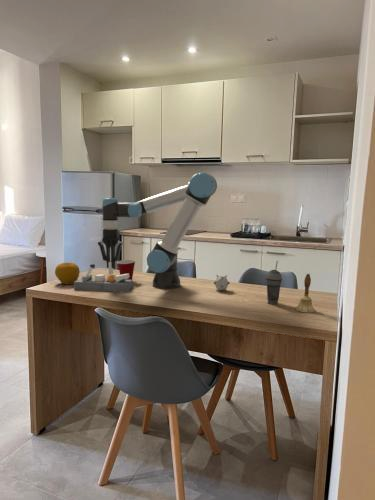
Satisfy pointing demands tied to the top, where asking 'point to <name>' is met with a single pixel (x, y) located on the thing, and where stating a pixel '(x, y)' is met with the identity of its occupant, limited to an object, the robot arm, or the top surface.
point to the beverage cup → (273, 286)
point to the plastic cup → (126, 267)
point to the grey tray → (103, 285)
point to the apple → (67, 273)
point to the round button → (110, 278)
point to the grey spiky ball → (221, 283)
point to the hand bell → (306, 298)
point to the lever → (90, 271)
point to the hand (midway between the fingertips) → (110, 274)
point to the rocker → (122, 276)
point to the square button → (100, 278)
